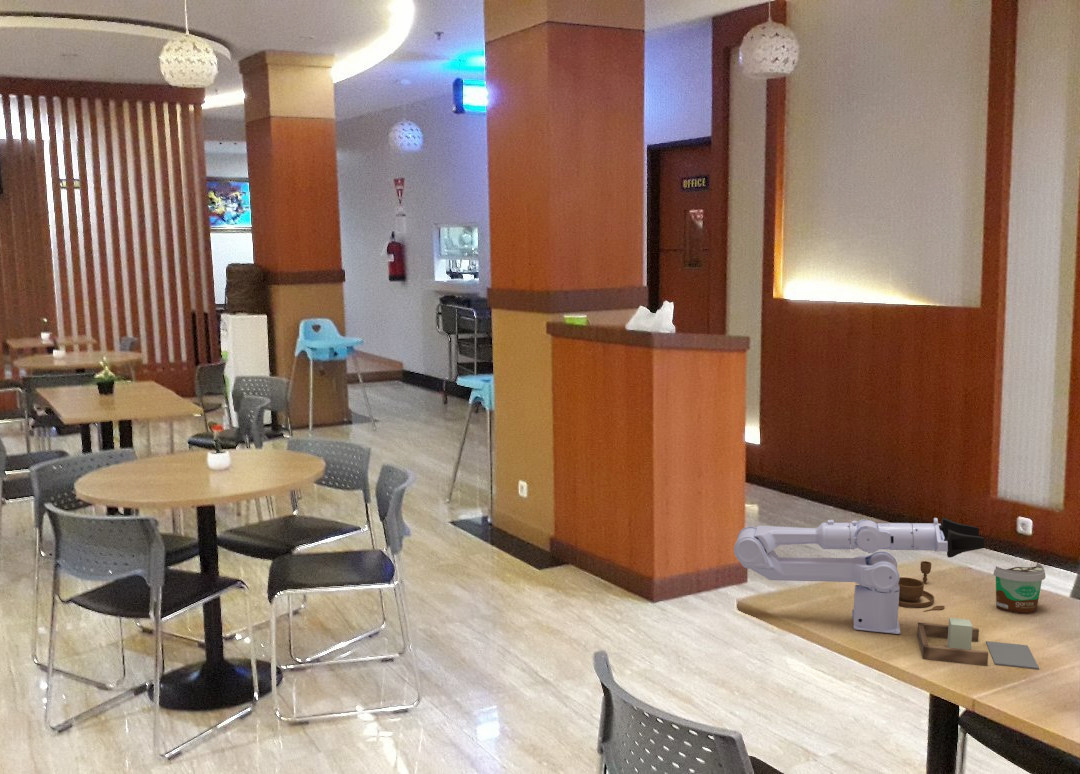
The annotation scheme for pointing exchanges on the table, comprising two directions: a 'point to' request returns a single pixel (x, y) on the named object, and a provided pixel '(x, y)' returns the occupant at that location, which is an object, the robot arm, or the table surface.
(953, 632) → the sage block
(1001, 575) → the food container
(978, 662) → the open side box
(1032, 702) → the table surface
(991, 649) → the mat
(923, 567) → the place setting
